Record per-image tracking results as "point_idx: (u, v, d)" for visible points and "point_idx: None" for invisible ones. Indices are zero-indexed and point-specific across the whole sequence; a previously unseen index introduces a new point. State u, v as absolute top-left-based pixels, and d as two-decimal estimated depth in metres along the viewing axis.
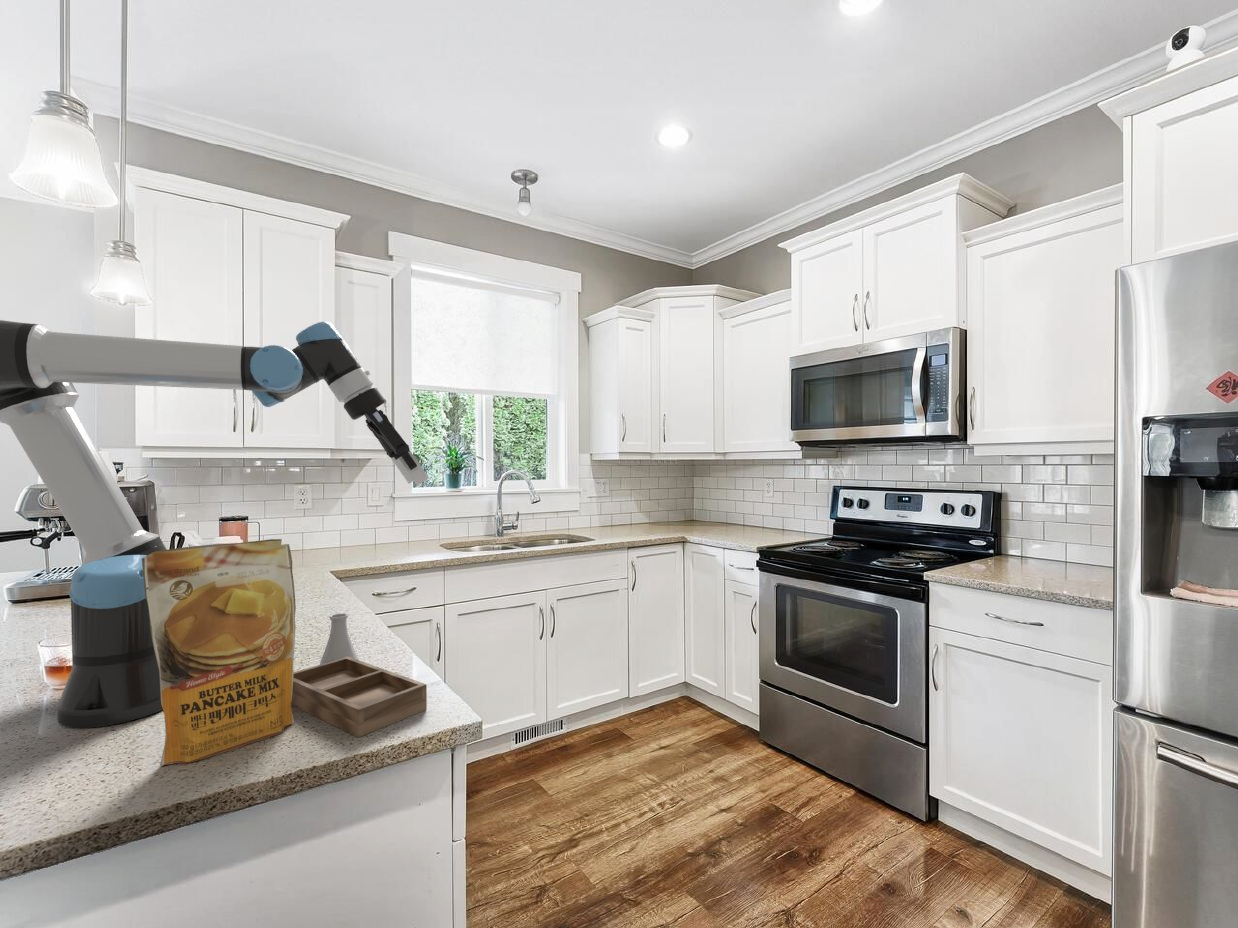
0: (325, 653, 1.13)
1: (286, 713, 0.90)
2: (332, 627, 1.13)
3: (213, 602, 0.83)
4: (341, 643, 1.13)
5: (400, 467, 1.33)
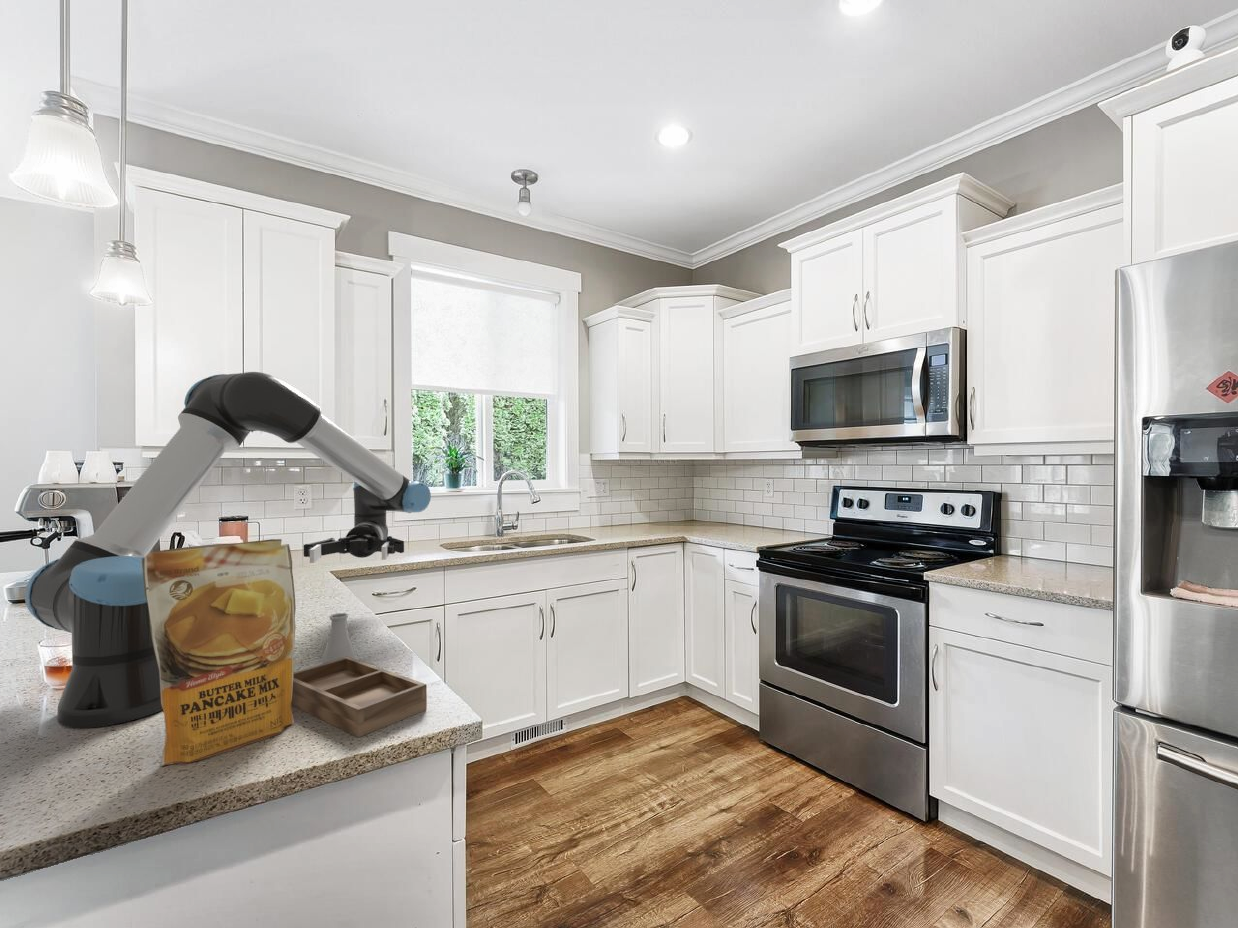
0: (325, 653, 1.13)
1: (286, 713, 0.90)
2: (332, 627, 1.13)
3: (213, 602, 0.83)
4: (341, 643, 1.13)
5: (318, 548, 1.26)
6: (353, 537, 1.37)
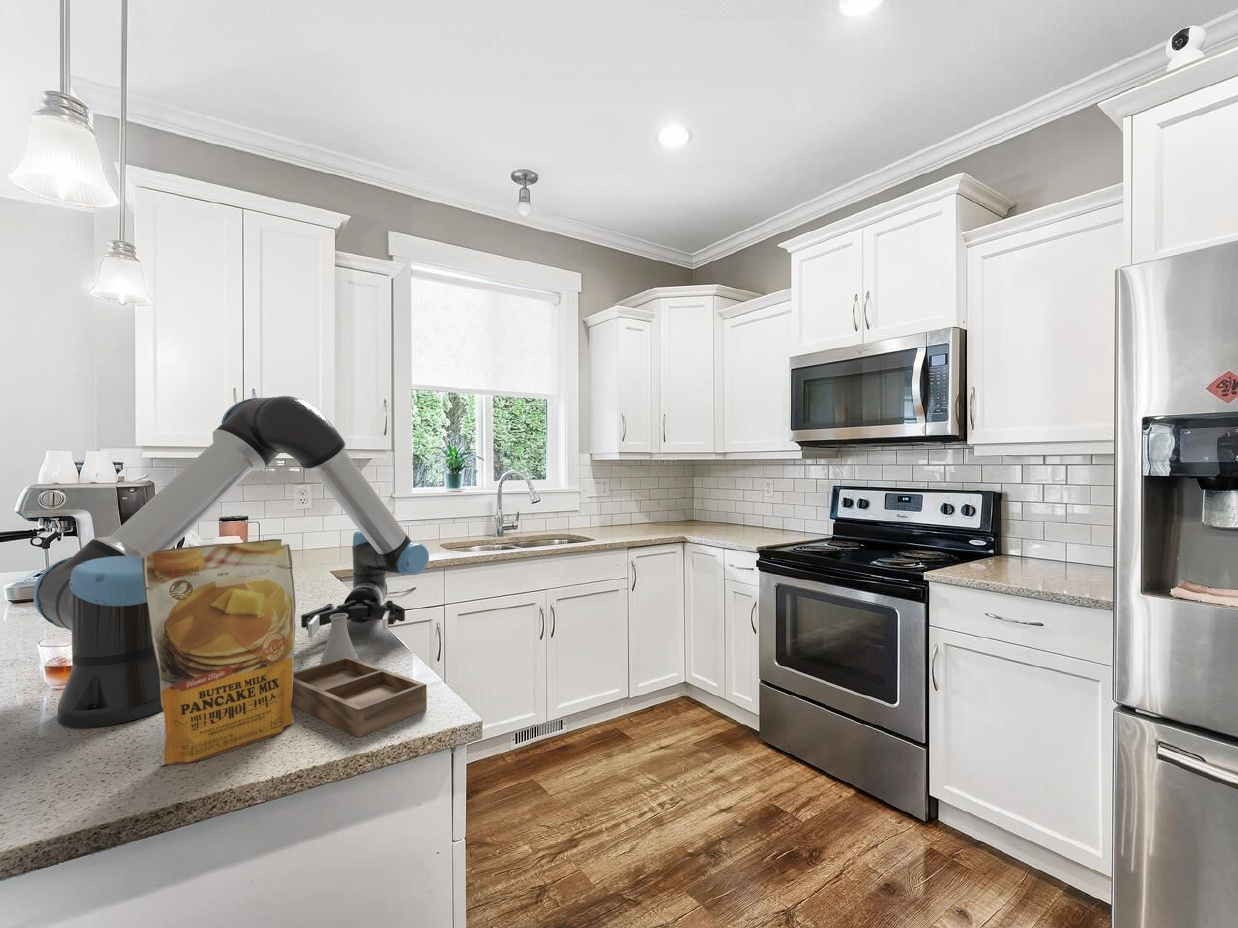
0: (325, 653, 1.13)
1: (286, 713, 0.90)
2: (332, 627, 1.13)
3: (213, 602, 0.83)
4: (341, 643, 1.13)
5: (316, 620, 1.22)
6: (352, 603, 1.33)
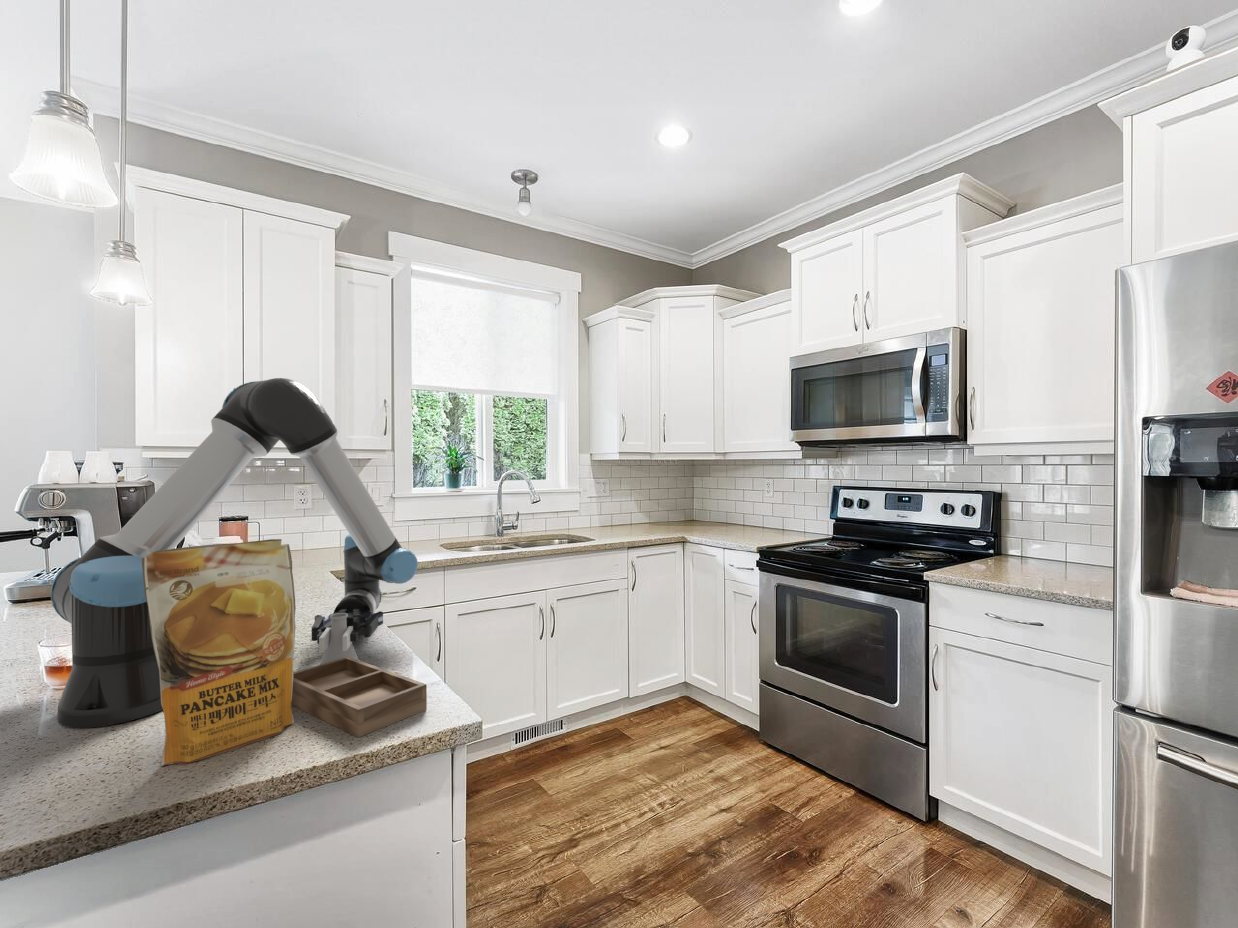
0: (325, 653, 1.13)
1: (286, 713, 0.90)
2: (332, 627, 1.13)
3: (213, 602, 0.83)
4: (341, 643, 1.13)
5: (328, 633, 1.13)
6: (345, 612, 1.25)
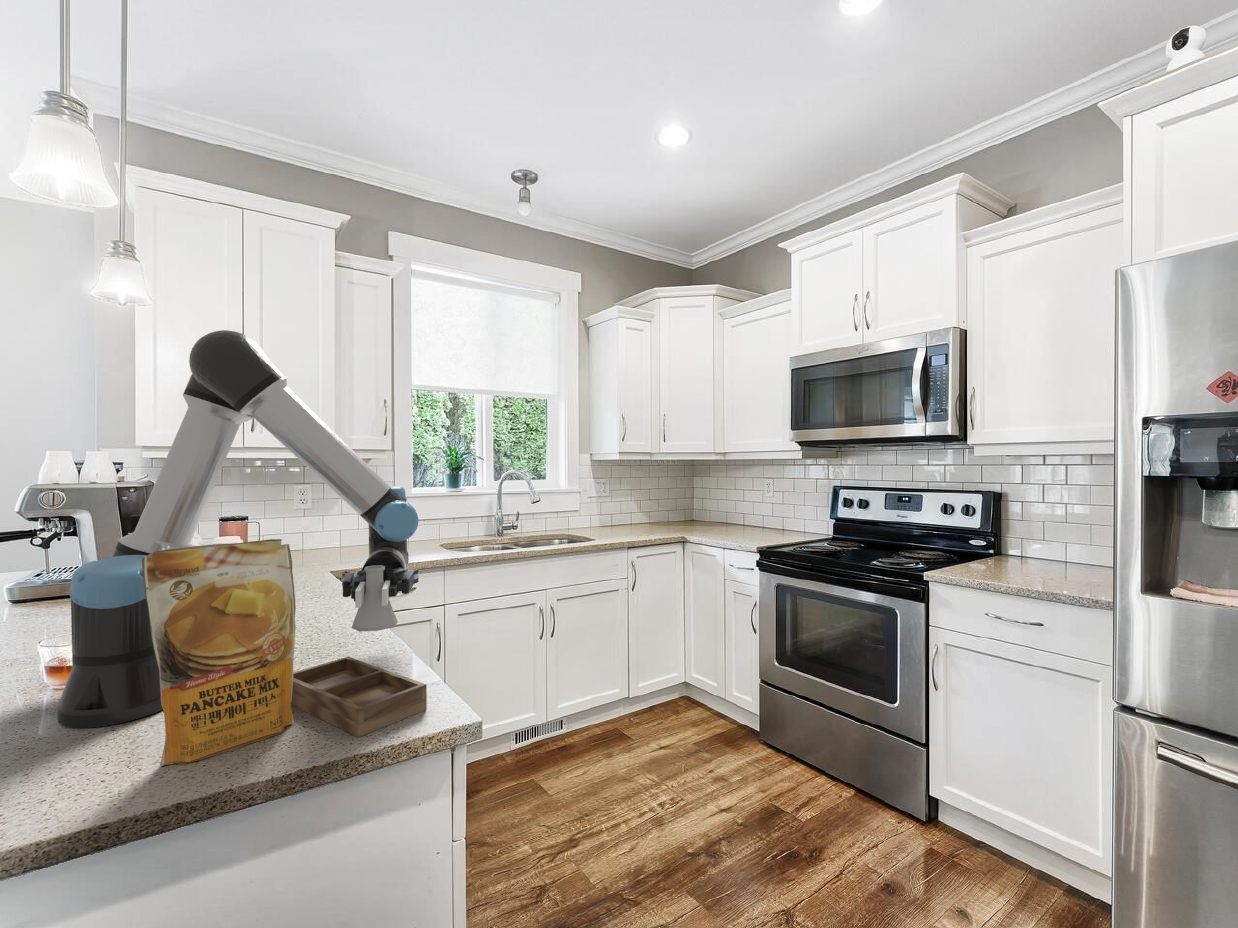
0: (360, 609, 0.99)
1: (286, 713, 0.90)
2: (368, 580, 1.00)
3: (213, 602, 0.83)
4: (378, 599, 0.99)
5: (363, 587, 0.99)
6: None
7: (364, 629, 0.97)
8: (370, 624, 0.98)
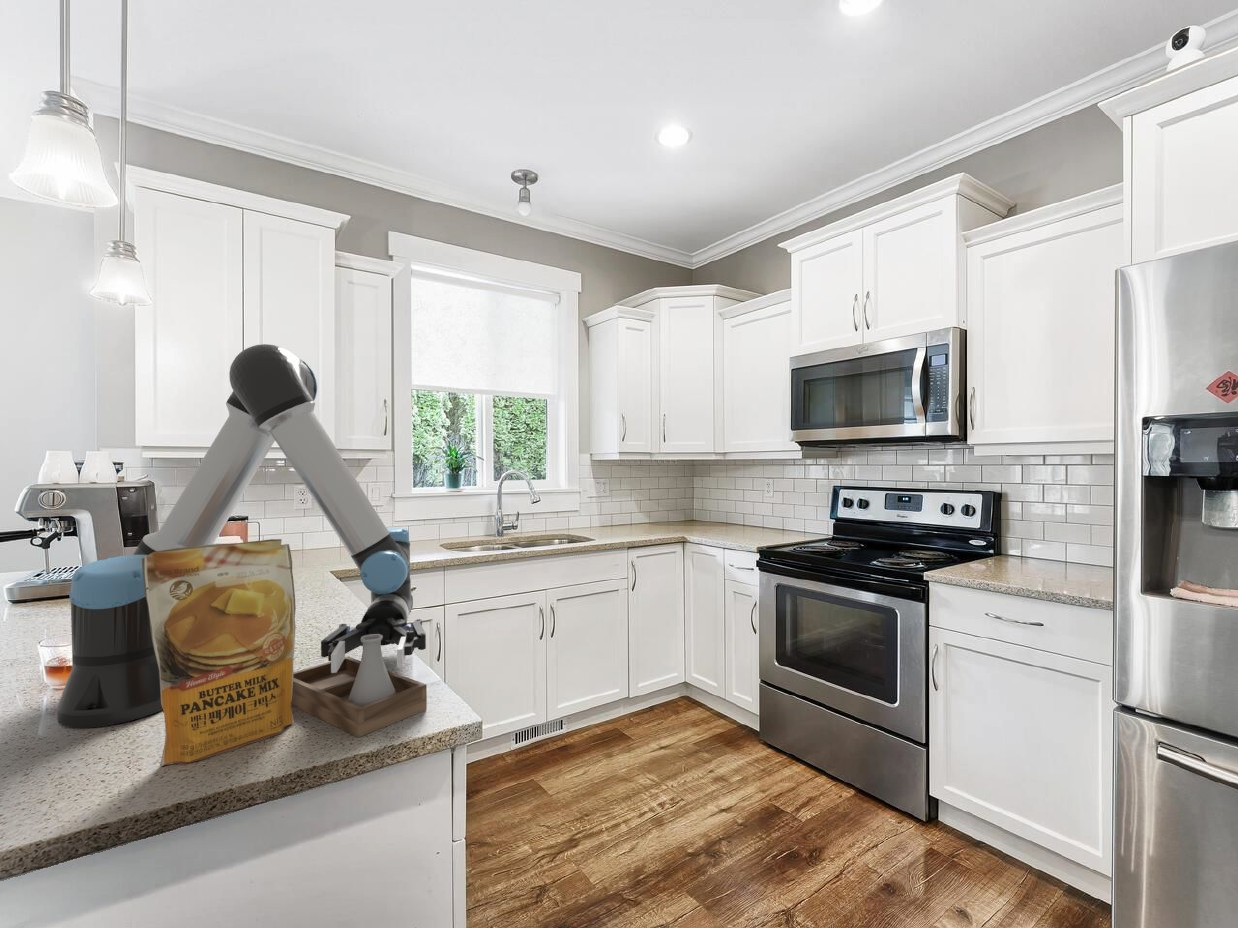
0: (356, 683, 0.93)
1: (286, 713, 0.90)
2: (364, 652, 0.93)
3: (213, 602, 0.83)
4: (375, 671, 0.93)
5: (341, 648, 0.93)
6: (374, 622, 1.04)
7: (360, 706, 0.91)
8: (366, 700, 0.91)
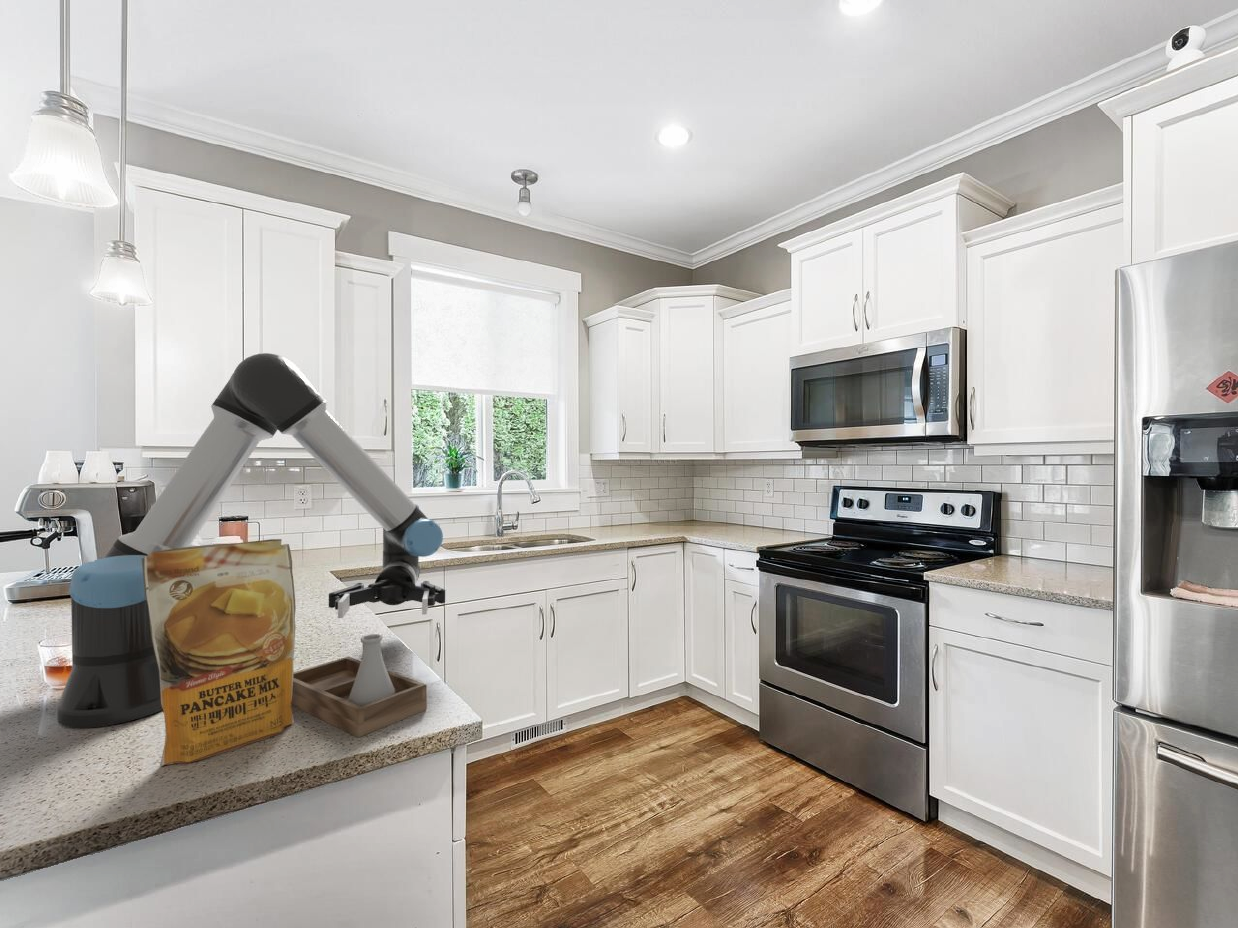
0: (356, 683, 0.93)
1: (286, 713, 0.90)
2: (364, 652, 0.93)
3: (213, 602, 0.83)
4: (375, 671, 0.93)
5: (347, 599, 1.06)
6: (385, 583, 1.17)
7: (360, 706, 0.91)
8: (366, 700, 0.91)
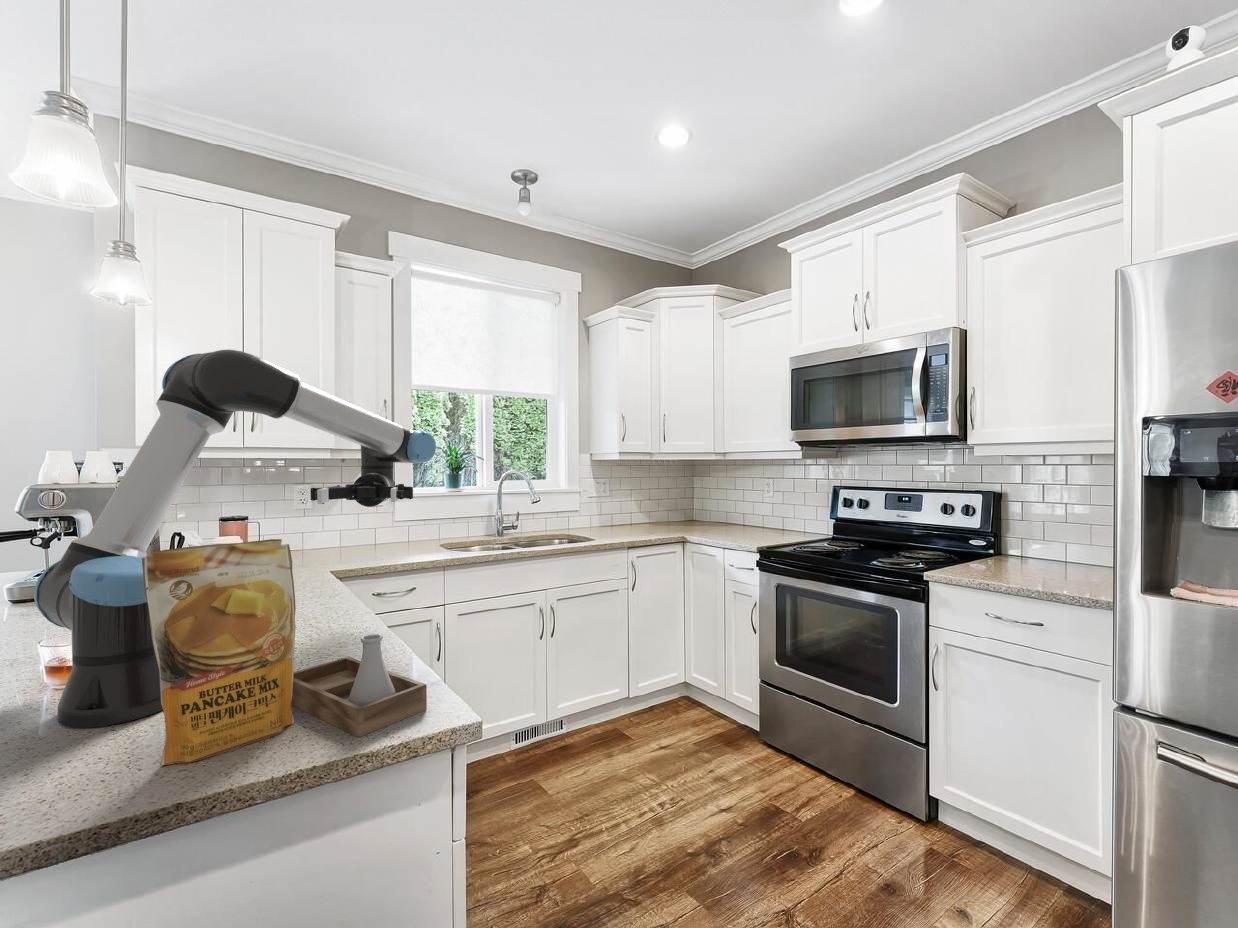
0: (356, 683, 0.93)
1: (286, 713, 0.90)
2: (364, 652, 0.93)
3: (213, 602, 0.83)
4: (375, 671, 0.93)
5: (326, 490, 1.23)
6: (361, 484, 1.34)
7: (360, 706, 0.91)
8: (366, 700, 0.91)
